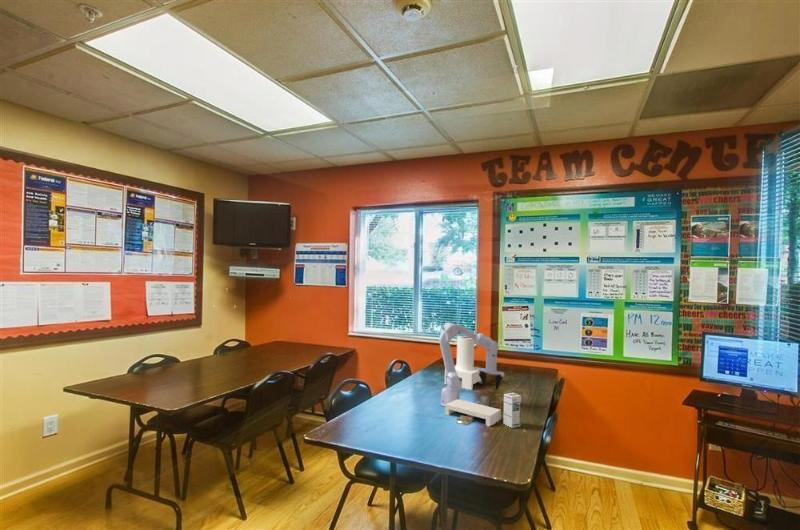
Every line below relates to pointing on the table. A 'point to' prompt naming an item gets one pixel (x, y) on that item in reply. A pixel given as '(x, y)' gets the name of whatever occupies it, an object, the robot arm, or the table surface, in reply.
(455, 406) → the low shelf
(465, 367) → the white column on base
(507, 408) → the syrup box
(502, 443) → the table surface
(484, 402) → the gray rectangular block
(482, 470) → the table surface
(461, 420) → the steel disc
